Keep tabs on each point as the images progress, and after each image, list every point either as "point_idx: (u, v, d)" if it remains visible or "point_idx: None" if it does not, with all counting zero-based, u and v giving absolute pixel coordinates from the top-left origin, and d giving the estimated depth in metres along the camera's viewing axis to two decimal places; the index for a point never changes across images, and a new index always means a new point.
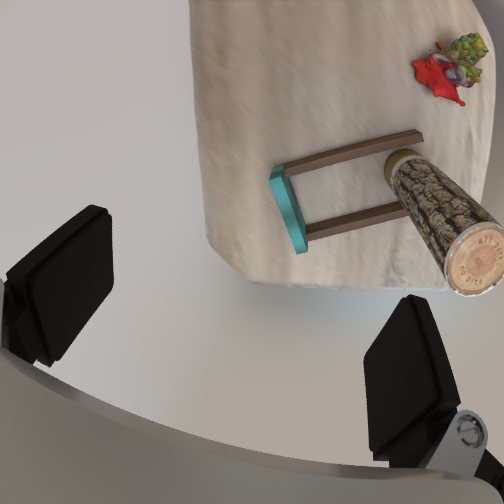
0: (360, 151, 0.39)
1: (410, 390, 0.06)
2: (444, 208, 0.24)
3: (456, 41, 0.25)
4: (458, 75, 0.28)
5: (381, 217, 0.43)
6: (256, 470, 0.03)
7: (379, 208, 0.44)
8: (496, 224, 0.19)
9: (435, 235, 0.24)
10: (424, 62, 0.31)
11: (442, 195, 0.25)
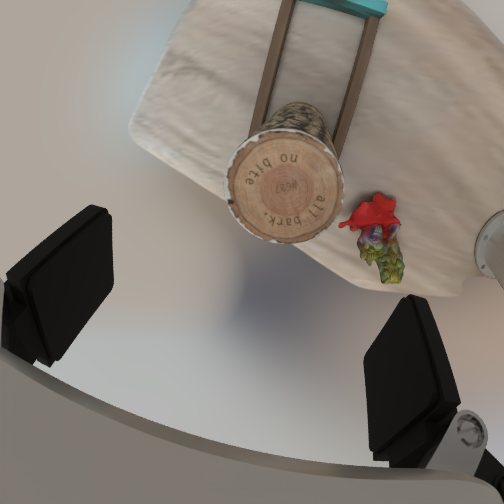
0: (354, 95, 0.32)
1: (410, 390, 0.06)
2: None
3: (402, 256, 0.38)
4: (374, 237, 0.38)
5: (269, 77, 0.33)
6: (256, 470, 0.03)
7: (274, 79, 0.35)
8: None
9: (322, 134, 0.19)
10: (392, 211, 0.39)
11: None
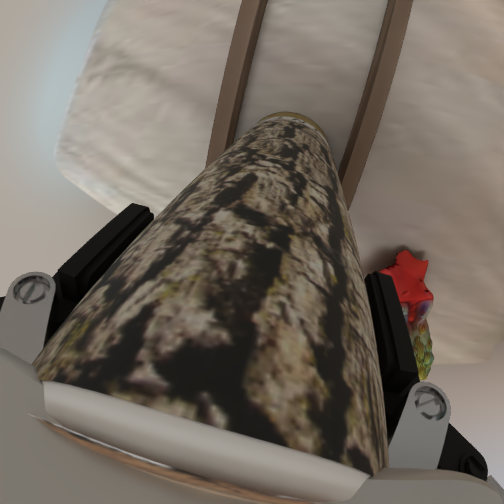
0: (379, 102, 0.19)
1: None
2: None
3: (431, 345, 0.24)
4: None
5: (235, 72, 0.20)
6: None
7: (246, 76, 0.22)
8: None
9: (337, 290, 0.05)
10: (423, 278, 0.26)
11: None
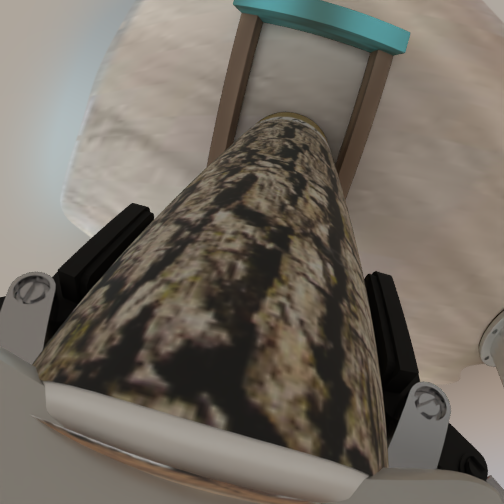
0: (346, 180, 0.24)
1: None
2: None
3: None
4: None
5: (219, 153, 0.24)
6: None
7: None
8: None
9: (337, 290, 0.05)
10: None
11: None
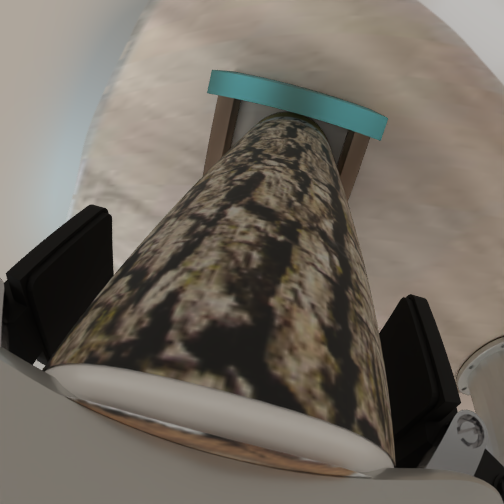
0: None
1: (410, 390, 0.06)
2: None
3: None
4: None
5: None
6: (256, 470, 0.03)
7: None
8: None
9: (342, 280, 0.06)
10: None
11: None
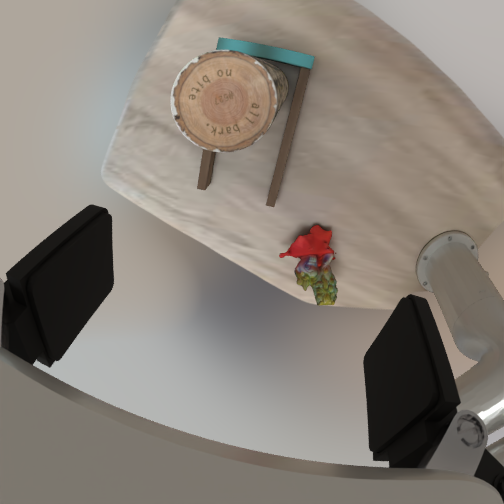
0: (287, 145, 0.40)
1: (410, 390, 0.06)
2: (279, 86, 0.21)
3: (335, 282, 0.46)
4: (309, 267, 0.46)
5: None
6: (256, 470, 0.03)
7: None
8: (262, 135, 0.19)
9: (261, 61, 0.19)
10: (328, 241, 0.47)
11: (282, 94, 0.23)
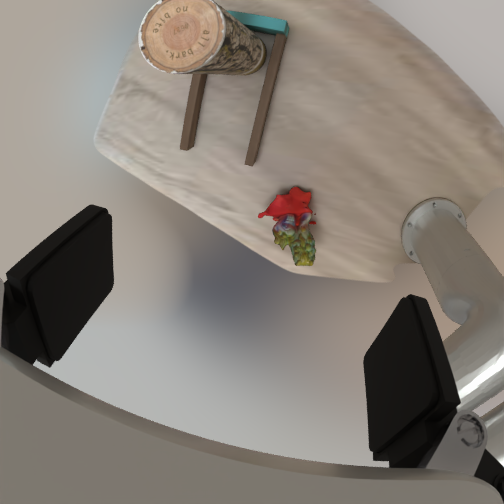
0: (263, 105, 0.40)
1: (410, 390, 0.06)
2: (237, 27, 0.22)
3: (313, 241, 0.46)
4: (286, 225, 0.46)
5: (194, 95, 0.41)
6: (256, 470, 0.03)
7: (201, 96, 0.43)
8: (213, 56, 0.19)
9: None
10: (307, 202, 0.47)
11: (242, 37, 0.24)
